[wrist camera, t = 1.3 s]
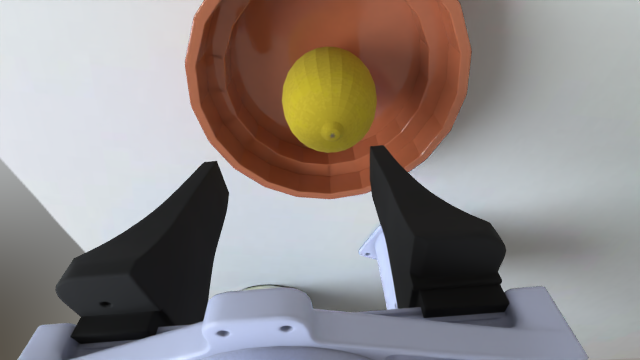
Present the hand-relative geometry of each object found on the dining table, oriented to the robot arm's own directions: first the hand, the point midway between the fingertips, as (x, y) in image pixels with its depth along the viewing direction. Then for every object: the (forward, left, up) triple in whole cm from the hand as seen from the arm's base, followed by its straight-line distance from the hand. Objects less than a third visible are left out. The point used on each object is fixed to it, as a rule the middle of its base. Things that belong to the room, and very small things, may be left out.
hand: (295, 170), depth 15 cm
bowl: (-1, -1, -10) cm, 10 cm away
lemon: (-1, -1, -10) cm, 10 cm away
